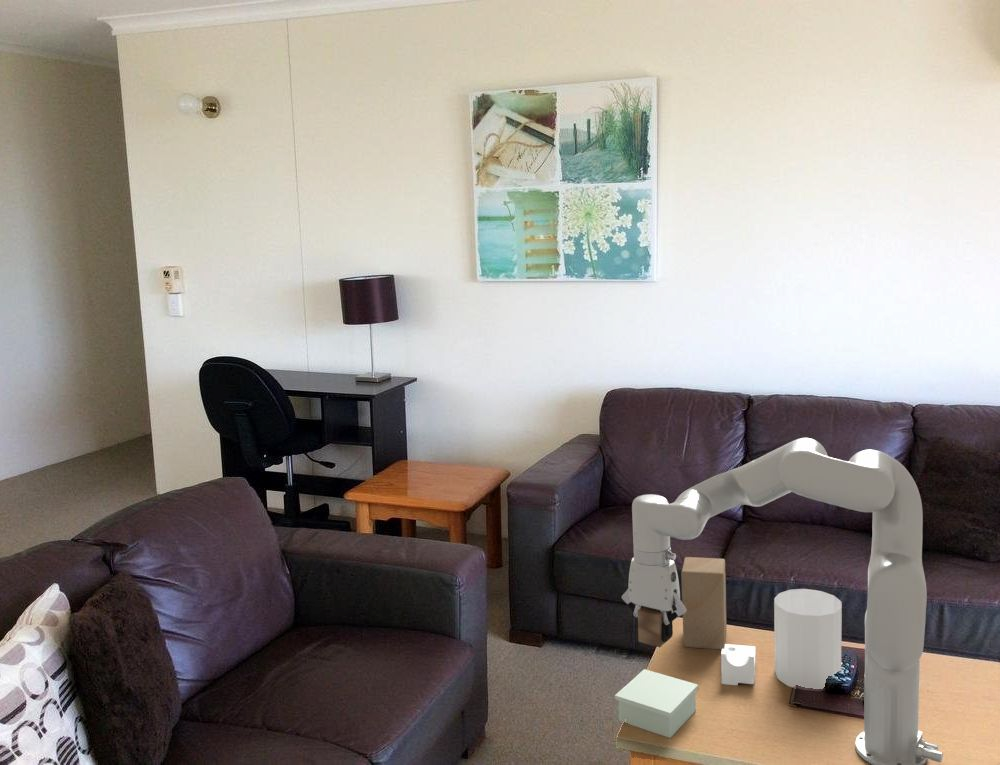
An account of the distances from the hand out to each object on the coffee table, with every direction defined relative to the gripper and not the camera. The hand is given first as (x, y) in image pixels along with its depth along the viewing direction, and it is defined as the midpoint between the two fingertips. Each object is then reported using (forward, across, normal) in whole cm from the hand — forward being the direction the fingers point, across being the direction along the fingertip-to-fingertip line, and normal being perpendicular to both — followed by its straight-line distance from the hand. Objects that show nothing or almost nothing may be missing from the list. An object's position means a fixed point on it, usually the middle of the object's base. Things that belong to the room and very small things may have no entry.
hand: (654, 635), depth 183 cm
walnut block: (+1, 0, 0) cm, 1 cm away
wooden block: (+19, +6, -37) cm, 42 cm away
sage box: (+19, 0, 0) cm, 19 cm away
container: (+19, -21, -33) cm, 43 cm away
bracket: (+19, -7, -27) cm, 33 cm away
